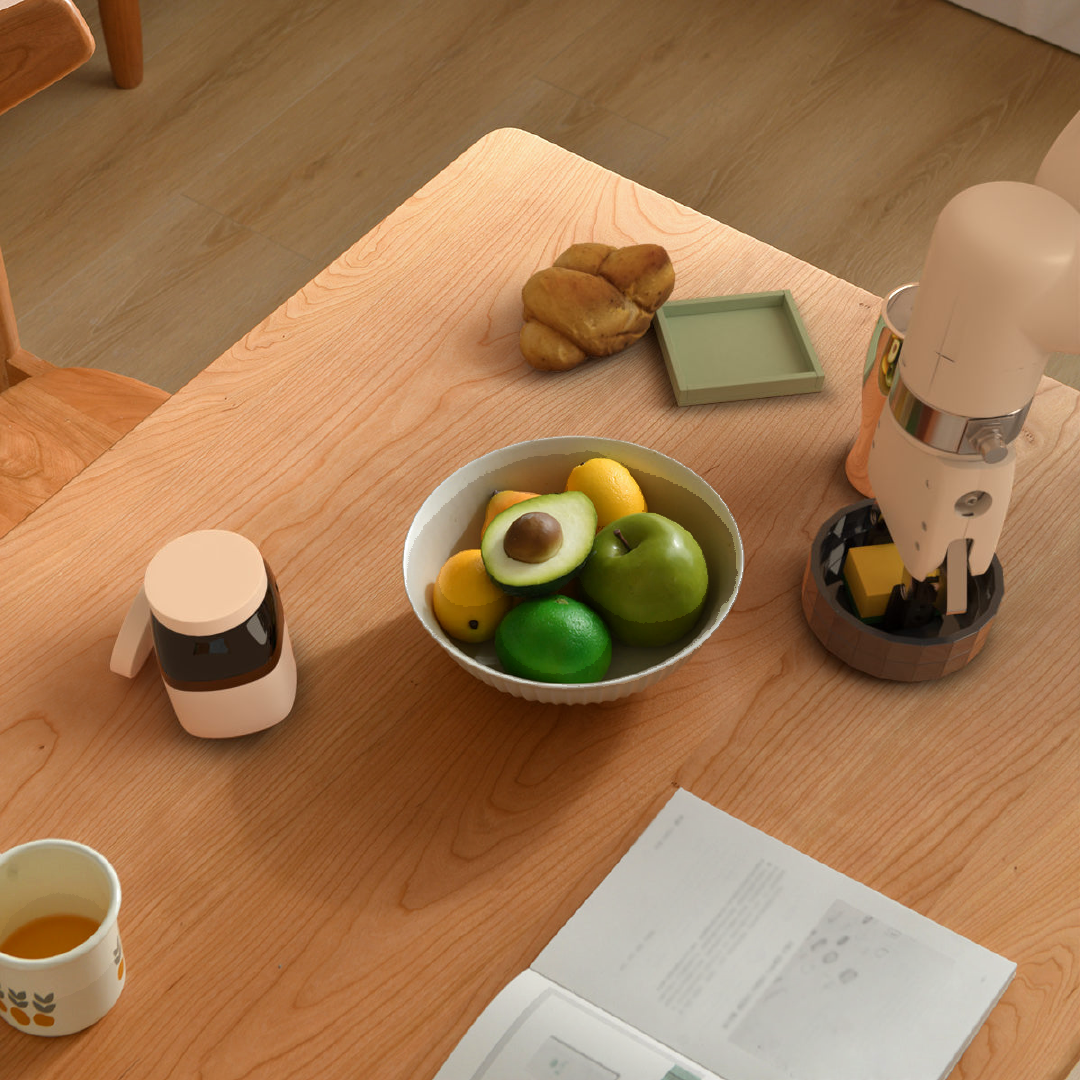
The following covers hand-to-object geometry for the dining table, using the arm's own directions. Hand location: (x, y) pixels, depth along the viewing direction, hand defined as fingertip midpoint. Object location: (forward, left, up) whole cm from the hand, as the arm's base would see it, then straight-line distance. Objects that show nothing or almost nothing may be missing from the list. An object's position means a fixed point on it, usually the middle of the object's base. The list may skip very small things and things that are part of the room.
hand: (894, 592), depth 90 cm
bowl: (0, 0, -1) cm, 1 cm away
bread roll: (+16, -30, -1) cm, 34 cm away
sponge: (0, 0, 0) cm, 0 cm away
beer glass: (-3, -12, -1) cm, 12 cm away
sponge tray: (+5, -26, -1) cm, 26 cm away
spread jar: (+45, -1, -1) cm, 45 cm away
